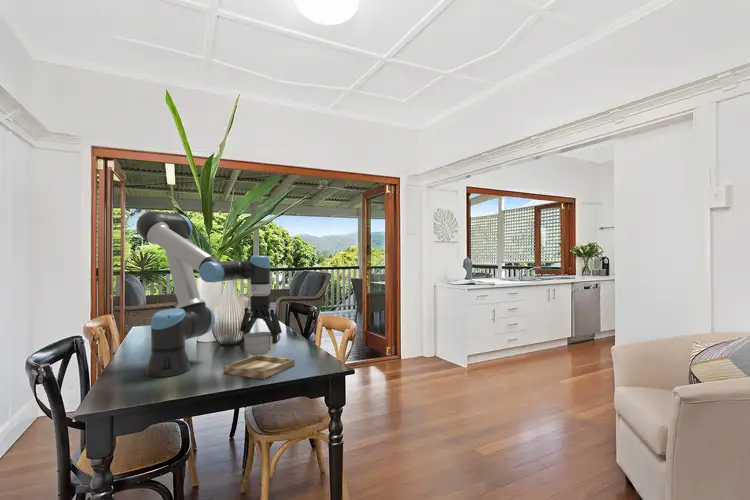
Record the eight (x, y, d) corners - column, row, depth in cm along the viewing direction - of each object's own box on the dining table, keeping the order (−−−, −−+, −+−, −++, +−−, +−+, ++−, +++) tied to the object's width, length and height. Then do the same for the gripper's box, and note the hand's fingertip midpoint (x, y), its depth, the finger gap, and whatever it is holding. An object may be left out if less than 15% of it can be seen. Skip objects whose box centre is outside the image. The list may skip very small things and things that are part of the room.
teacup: (243, 358, 150) (243, 337, 150) (244, 351, 161) (244, 331, 161) (281, 355, 154) (281, 334, 154) (279, 348, 165) (279, 329, 165)
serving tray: (223, 373, 153) (223, 366, 153) (256, 360, 171) (256, 354, 171) (264, 379, 146) (264, 372, 146) (294, 365, 163) (294, 359, 163)
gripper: (230, 294, 159) (230, 350, 159) (279, 296, 150) (279, 355, 150) (243, 292, 166) (243, 345, 166) (290, 294, 157) (291, 351, 157)
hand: (260, 350), depth 158 cm, fingers closed on teacup, 11 cm apart
